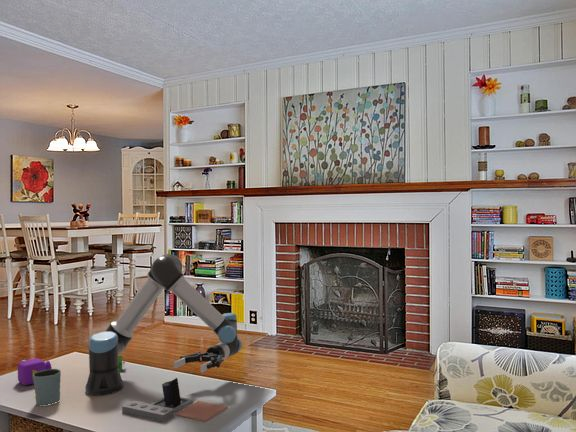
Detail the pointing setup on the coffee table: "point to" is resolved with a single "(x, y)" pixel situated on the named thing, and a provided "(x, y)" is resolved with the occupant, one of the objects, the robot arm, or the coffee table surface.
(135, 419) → the coffee table surface
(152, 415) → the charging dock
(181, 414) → the mat
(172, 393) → the speaker
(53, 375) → the grey-green cup
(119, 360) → the geometric puzzle
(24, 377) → the toy camera
